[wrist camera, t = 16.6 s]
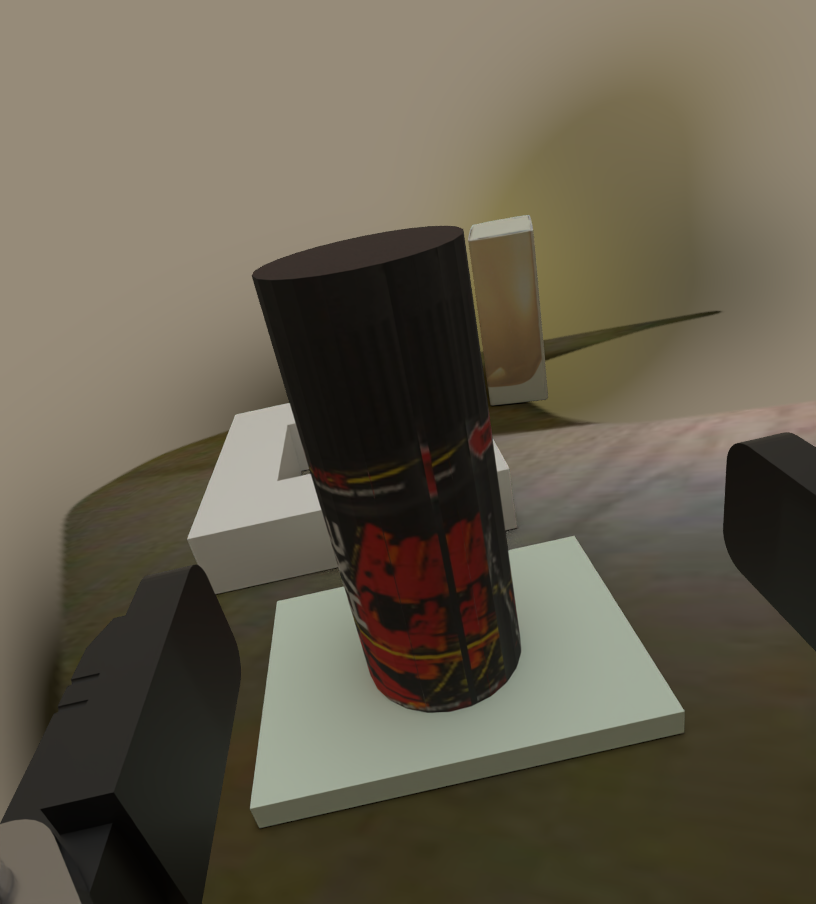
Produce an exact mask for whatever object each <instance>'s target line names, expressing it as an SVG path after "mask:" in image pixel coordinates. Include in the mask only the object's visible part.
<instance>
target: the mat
mask: <svg viewBox="0 0 816 904" xmlns="http://www.w3.org/2000/svg"><path fill="white" fill-rule="evenodd" d="M508 553H509V560H510V567H511V574H512V581H513V588H514V596H515V603H516V610H517V617H518V624H519V631H520V640H521V655H520V658H519V662H518V665H517V668H516V670H515V671H514V673H513V674H512V676H511V677H510V679H509V680H508V682H507V683H506V684H505V685H504V686H502V687H501V688H500V689H499V690H498V691H497V692H496V693H494V694H493V695H492V696H491V697H489V698H487V699H485V700H483V701H481V702H479V703H477V704H475V705H473V706H471V707H467V708H463V709H459V710H455V711H451V712H436V713H426V712H421V711H416V710H411V709H406V708H404V707H402V706H400V705H398V704H396V703H394V702H392V701H390V700H389V699H388V698H387V697H386V696H385V695H384V694H382V693H381V692H380V691H379V690H378V689H377V687H376V685H375V683H374V681H373V679H372V677H371V675H370V672H369V669H368V666H367V662H366V659H365V656H364V652H363V649H362V645H361V642H360V639H359V635H358V632H357V629H356V625H355V622H354V618H353V615H352V612H351V608H350V605H349V602H348V598H347V595H346V591H345V588H344V587H340V588H336V589H331V590H327V591H322V592H318V593H313V594H309V595H304V596H300V597H295V598H290V599H286V600H281V601H277V607H276V615H275V622H274V630H273V638H272V645H271V653H270V660H269V668H268V676H267V683H266V691H265V698H264V706H263V714H262V721H261V729H260V736H259V744H258V751H257V759H256V767H255V774H254V782H253V789H252V797H251V805H250V810H251V812H252V814H253V816H254V818H255V820H256V822H257V824H258V827H259V828H262V827H267V826H271V825H276V824H280V823H285V822H289V821H294V820H298V819H302V818H307V817H311V816H316V815H320V814H325V813H329V812H334V811H338V810H342V809H347V808H351V807H356V806H360V805H365V804H369V803H374V802H378V801H382V800H387V799H391V798H396V797H400V796H405V795H409V794H414V793H418V792H422V791H427V790H431V789H436V788H440V787H445V786H449V785H454V784H458V783H463V782H467V781H471V780H476V779H480V778H485V777H489V776H494V775H498V774H503V773H507V772H511V771H516V770H520V769H525V768H529V767H534V766H538V765H543V764H547V763H551V762H556V761H560V760H565V759H569V758H574V757H578V756H583V755H587V754H591V753H596V752H600V751H605V750H609V749H614V748H618V747H623V746H627V745H631V744H636V743H640V742H645V741H649V740H654V739H658V738H663V737H667V736H671V735H676V734H680V733H684V713H685V711H684V710H683V708H682V706H681V705H680V703H679V702H678V700H677V699H676V697H675V695H674V694H673V692H672V691H671V689H670V687H669V686H668V684H667V683H666V681H665V679H664V678H663V676H662V675H661V673H660V671H659V670H658V668H657V667H656V665H655V664H654V662H653V660H652V659H651V657H650V656H649V654H648V652H647V651H646V649H645V648H644V646H643V644H642V643H641V641H640V640H639V638H638V636H637V635H636V633H635V632H634V630H633V629H632V627H631V625H630V624H629V622H628V621H627V619H626V617H625V616H624V614H623V613H622V611H621V609H620V608H619V606H618V605H617V603H616V602H615V600H614V598H613V597H612V595H611V594H610V592H609V590H608V589H607V587H606V586H605V584H604V582H603V581H602V579H601V578H600V576H599V574H598V573H597V571H596V570H595V568H594V567H593V565H592V563H591V562H590V560H589V559H588V557H587V555H586V554H585V552H584V551H583V549H582V547H581V546H580V544H579V543H578V541H577V539H576V538H575V536H572V537H567V538H563V539H558V540H554V541H549V542H545V543H540V544H536V545H531V546H526V547H522V548H517V549H513V550H508Z"/></svg>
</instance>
